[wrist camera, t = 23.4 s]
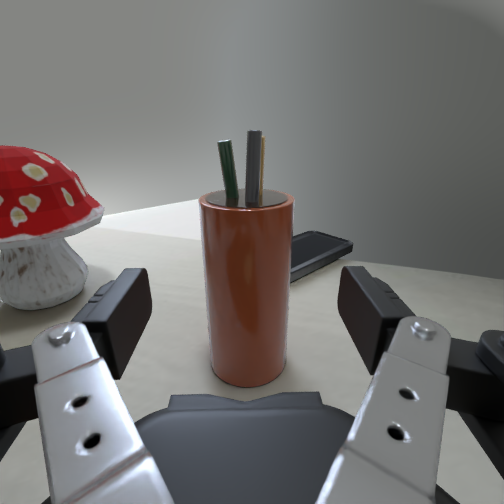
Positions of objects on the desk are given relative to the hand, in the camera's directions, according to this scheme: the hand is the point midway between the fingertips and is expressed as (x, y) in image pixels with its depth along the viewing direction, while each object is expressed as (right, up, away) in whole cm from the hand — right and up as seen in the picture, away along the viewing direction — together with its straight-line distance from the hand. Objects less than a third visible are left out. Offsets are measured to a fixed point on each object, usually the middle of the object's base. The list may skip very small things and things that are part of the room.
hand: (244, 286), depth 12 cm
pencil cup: (0, -7, +11) cm, 13 cm away
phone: (+7, +1, +28) cm, 29 cm away
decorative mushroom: (-21, -3, +19) cm, 29 cm away
